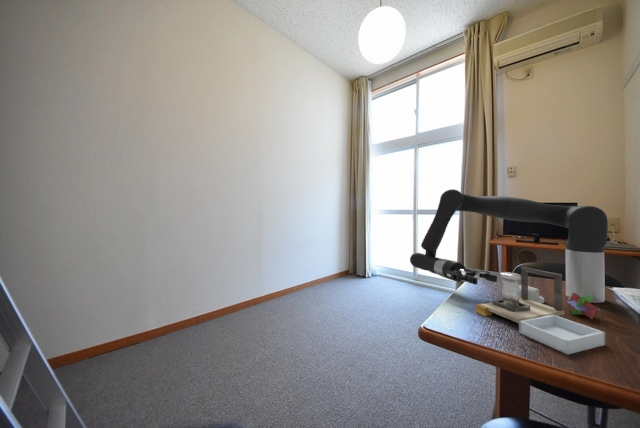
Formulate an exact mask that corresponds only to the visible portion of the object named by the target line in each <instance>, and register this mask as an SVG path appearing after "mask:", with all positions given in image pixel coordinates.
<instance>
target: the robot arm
mask: <svg viewBox="0 0 640 428" xmlns="http://www.w3.org/2000/svg"><path fill="white" fill-rule="evenodd" d="M456 212H468V213H469V212H470V213H476V214H480V215H484V216H488V217H492V218H497V219H502V220H507V221H515V222H526V223H543V224H548V225H549V224H550V225H554V226H558V227H562V228H566V229H568V235H567V236H568V237H567V240H566V241H565V246H564V247H565V296H566V297H569V296H570V295H571V294H572V293H573V292H574V293H576V294H578V293H579V294H578V295H580V296H581V297H592V296H594V297H593V299H592V301H591V303H595V304H596V303H597V304H600V303H605V299H606V297H605V296H606V294H605V293H606V289H605V288H606V287H605V285H606V284H605V276H606V275H605V247H606V245H607V243H608V228H609V227H608V226H609V222H608V216H607V214H606V212H604V210H602V209H601V208H599V207H596V206H594V205H593V206H592V205H556V204H555V205H554V204H546V203H542V202H537V201H534V200H530V199H526V198H521V197H512V196H499V195H498V196H497V195H495V196H494V195H490V196H489V195H488V196H487V195H486V196H483V195H482V196H479V195H471V194H466V193H461V192H460V190H458V189H447V190H445V191H444V192H443V193H442V194H441V195H440V198H439V203H438V207H437V210H436V213H435V215H434V217H433V220H432V222H431V224H430V226H429V227H428V229H427V231H426V234H425V235H424V238H423V240H422V242H421V244H420V247H421V248H422V249H423V250H425V253H421V252H415V253H412V254H411V255H410V257H409V262H410V265H412V267H414V268H417V269H420V270H424V271H426V272H430V273H431V274H435V275H437V276H440V277H442V278H444V279H447V280H451V281H453V282H457V283H469V284H473V285H478V281H479V280H486V281H488V282H489V281H490V282H492V283H497V282H498V276H497V275H495V274H492V273H490V272H491V271H488V270H484V269H479V268H476V267H475V268H469V267H465V265H464V263H462V262H460V261H456V260H451V259H447V258H440V257H437V251H438V248H439V247H440V244H441V242H442V240H443V237H444V235H445V233H446V230H447V227H448V226H449V223H450V221H451V219H452V217H453V216H454V215H455V213H456ZM583 294H584V295H583ZM588 295H589V296H588ZM594 298H595V299H594Z"/></svg>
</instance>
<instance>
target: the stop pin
mask: <svg viewBox="0 0 640 428" xmlns="http://www.w3.org/2000/svg"><path fill="white" fill-rule="evenodd" d="M499 278H501V291H502V292H501V293H502V295H501V296H502V297H501V299H502V304H505V305H507V306H510V307H513V308H515V307H519V285H520V282H519V281H521V273H520V274H519V273H516V272H509V271H501V272H499Z"/></svg>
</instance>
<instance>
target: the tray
mask: <svg viewBox="0 0 640 428" xmlns="http://www.w3.org/2000/svg"><path fill="white" fill-rule="evenodd" d="M518 333H519V334H521V335H524V336H525V337H527V338H530V339H532V340H534V341H537V342H539V343H541V344H543V345H546V346H548V347H551V348H552V349H554V350H557V351H558V352H561V353H563V354H565V355H570V354H574V353H579V352H582V351H588V350H590V349H594V348H600V347H602V346H606V332H605V331H602V330H600V329H597V328H594V327H591V326H588V325H585V324H582V323H579V322H576V321H574V320H570V319H567V318H565V317H561V316H560V315H559V316H556V315H549V316H544V317H538V318H533V319H528V320H522V321H519V324H518Z"/></svg>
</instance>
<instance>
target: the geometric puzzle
mask: <svg viewBox="0 0 640 428" xmlns="http://www.w3.org/2000/svg"><path fill="white" fill-rule="evenodd" d="M578 294H579V293H578ZM578 294H576V293H574V292H573V293H572V294H571V295H570V296H569V297H568V296H567V297H568V298H567V299H568V300H567V299H566V300H564V302H565V303H566V304H568V305H569V306H568V309H569V312H571V313H570V315H571V316H572V315H573V316H574V315H584V316H586V318H588V319H590V320H593V319H594V318H595V317H596V315H597V314H596V313H597V312H601V311H602V310H601V308H600V307H598V306H597V305H598V303H595V304H596V306H595V305H594V304H592V302H591V301H592V299H593V297H594V296H592V297H581V296H580V295H578ZM583 295H584V294H583ZM588 296H589V295H588ZM594 299H595V298H594ZM570 306H571V307H573V308H574V309H573V311H571V308H570Z"/></svg>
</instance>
